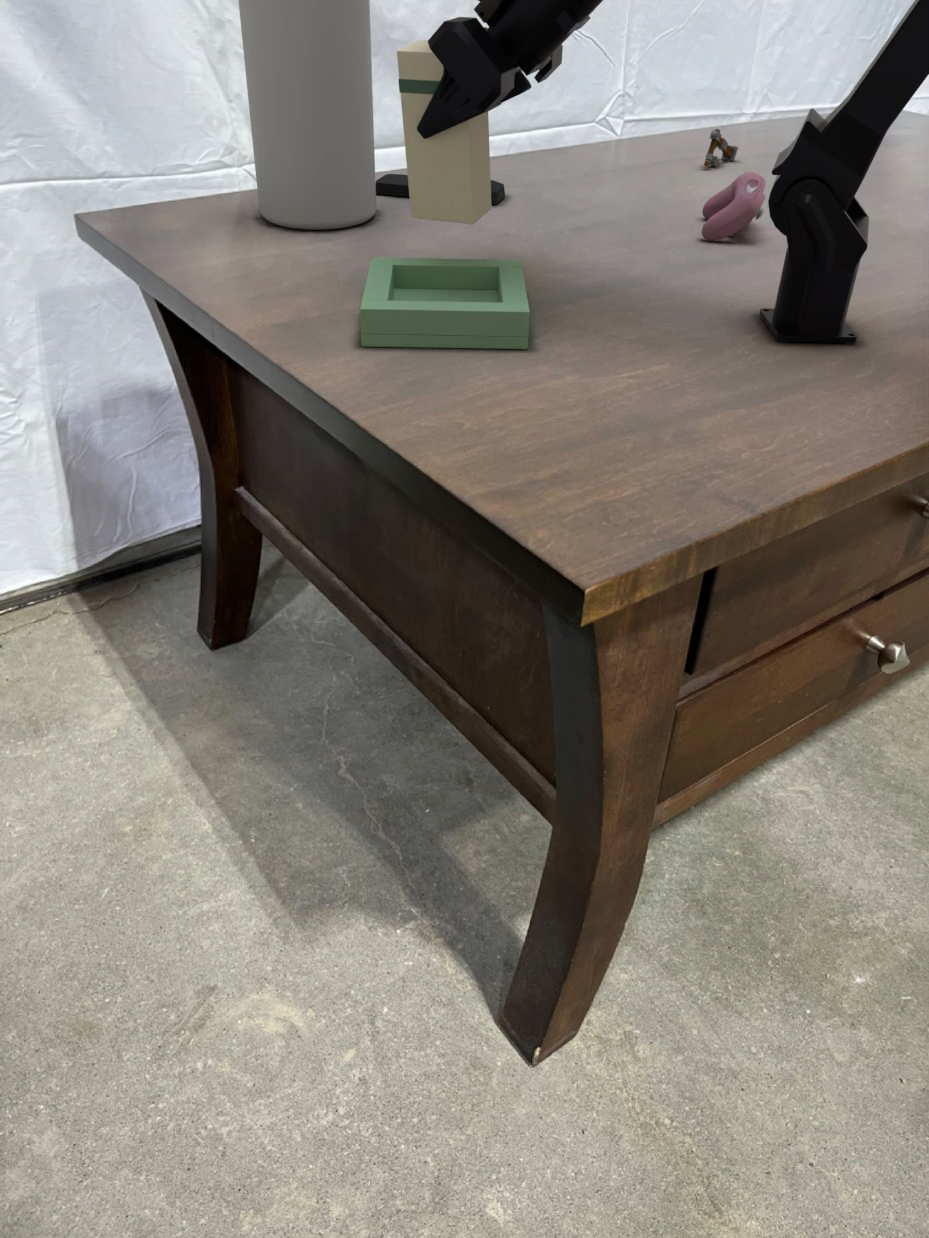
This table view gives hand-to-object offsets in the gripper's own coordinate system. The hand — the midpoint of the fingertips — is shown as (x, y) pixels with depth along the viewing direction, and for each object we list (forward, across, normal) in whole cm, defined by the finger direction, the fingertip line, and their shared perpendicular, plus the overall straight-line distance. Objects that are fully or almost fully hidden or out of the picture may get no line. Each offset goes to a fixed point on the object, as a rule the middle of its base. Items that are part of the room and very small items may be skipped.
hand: (431, 128), depth 83 cm
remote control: (+16, -29, +2) cm, 33 cm away
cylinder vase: (+22, -16, -4) cm, 28 cm away
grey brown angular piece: (-4, -60, +22) cm, 64 cm away
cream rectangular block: (+4, 0, +6) cm, 7 cm away
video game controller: (-8, -27, +26) cm, 38 cm away
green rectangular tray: (+6, +9, +12) cm, 16 cm away
